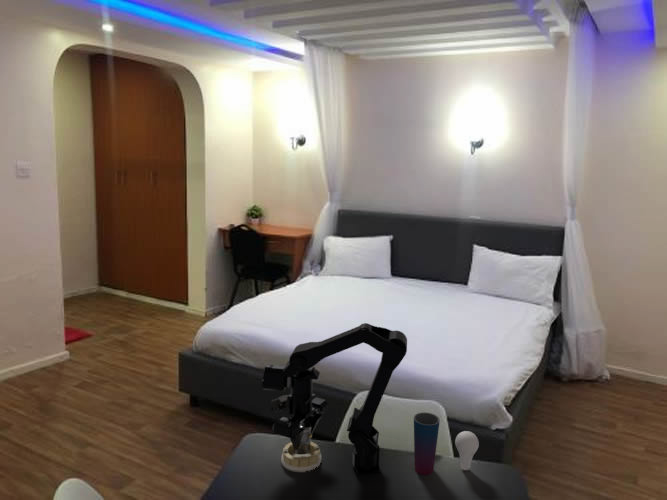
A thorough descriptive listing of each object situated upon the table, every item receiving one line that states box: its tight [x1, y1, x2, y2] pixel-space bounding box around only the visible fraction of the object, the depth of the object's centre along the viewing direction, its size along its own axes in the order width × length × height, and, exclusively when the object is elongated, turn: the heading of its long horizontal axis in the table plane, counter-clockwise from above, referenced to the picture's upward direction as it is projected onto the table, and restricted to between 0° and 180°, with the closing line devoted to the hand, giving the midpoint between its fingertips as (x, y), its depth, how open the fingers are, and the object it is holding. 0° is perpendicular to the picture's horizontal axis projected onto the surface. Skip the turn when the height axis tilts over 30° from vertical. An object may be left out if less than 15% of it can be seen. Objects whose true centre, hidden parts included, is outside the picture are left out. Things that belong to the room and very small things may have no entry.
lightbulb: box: [454, 430, 480, 471], centre depth 149 cm, size 6×6×11 cm
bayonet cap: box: [292, 421, 313, 455], centre depth 152 cm, size 6×5×7 cm
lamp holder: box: [280, 441, 322, 473], centre depth 153 cm, size 11×11×4 cm
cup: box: [413, 411, 441, 476], centre depth 149 cm, size 7×7×15 cm
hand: (301, 444), depth 152 cm, fingers closed on bayonet cap, 5 cm apart
